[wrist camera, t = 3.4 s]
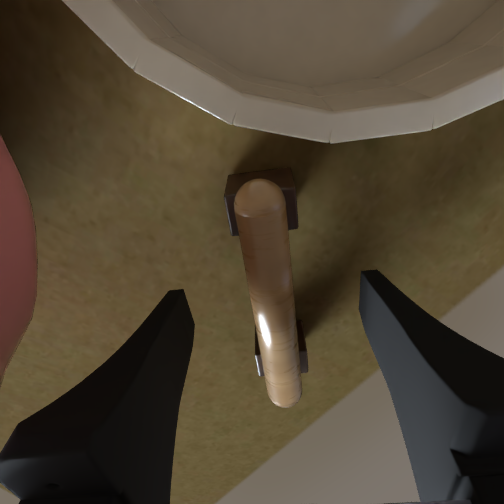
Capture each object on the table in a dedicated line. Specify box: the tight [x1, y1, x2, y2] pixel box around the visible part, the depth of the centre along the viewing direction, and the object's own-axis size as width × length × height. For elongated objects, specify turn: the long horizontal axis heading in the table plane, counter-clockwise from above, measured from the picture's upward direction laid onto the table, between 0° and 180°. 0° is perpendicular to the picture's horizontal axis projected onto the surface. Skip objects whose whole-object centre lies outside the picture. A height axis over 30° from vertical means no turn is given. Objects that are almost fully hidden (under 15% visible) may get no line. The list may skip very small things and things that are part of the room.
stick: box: [234, 179, 302, 408], centre depth 13 cm, size 11×2×2 cm, turn 8°
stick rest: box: [224, 167, 308, 376], centre depth 14 cm, size 10×2×2 cm, turn 8°
